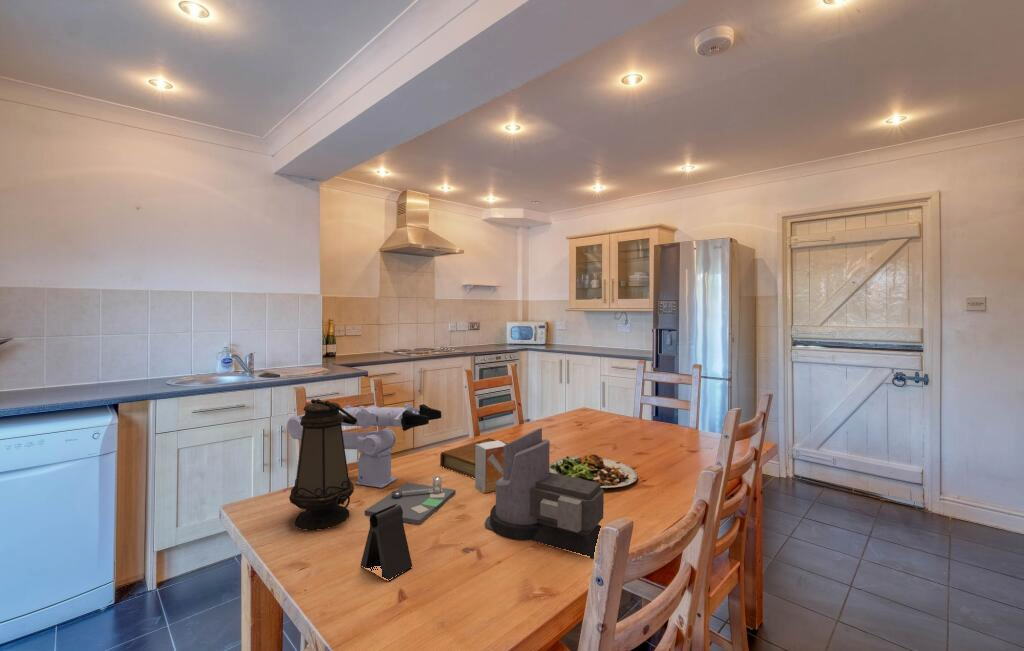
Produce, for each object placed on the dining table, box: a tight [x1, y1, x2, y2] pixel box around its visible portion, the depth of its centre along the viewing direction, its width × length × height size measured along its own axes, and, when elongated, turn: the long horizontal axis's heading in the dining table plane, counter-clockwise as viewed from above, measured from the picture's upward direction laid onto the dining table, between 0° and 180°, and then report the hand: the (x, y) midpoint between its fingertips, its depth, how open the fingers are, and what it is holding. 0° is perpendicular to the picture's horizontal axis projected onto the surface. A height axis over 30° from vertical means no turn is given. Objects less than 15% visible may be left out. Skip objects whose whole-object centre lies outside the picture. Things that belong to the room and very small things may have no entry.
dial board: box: [364, 482, 456, 526], centre depth 120 cm, size 16×20×1 cm
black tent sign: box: [360, 504, 413, 580], centre depth 90 cm, size 9×6×12 cm, turn 53°
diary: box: [439, 437, 509, 479], centre depth 152 cm, size 23×19×6 cm
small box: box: [474, 439, 506, 494], centre depth 132 cm, size 8×6×13 cm
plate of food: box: [549, 453, 639, 489], centre depth 142 cm, size 28×28×6 cm
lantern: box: [289, 398, 357, 531], centre depth 111 cm, size 18×15×30 cm
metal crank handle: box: [391, 475, 444, 498], centre depth 123 cm, size 14×3×4 cm, turn 106°
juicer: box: [484, 427, 605, 560], centre depth 106 cm, size 30×16×24 cm, turn 59°
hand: (434, 417), depth 128 cm, fingers open, 7 cm apart
